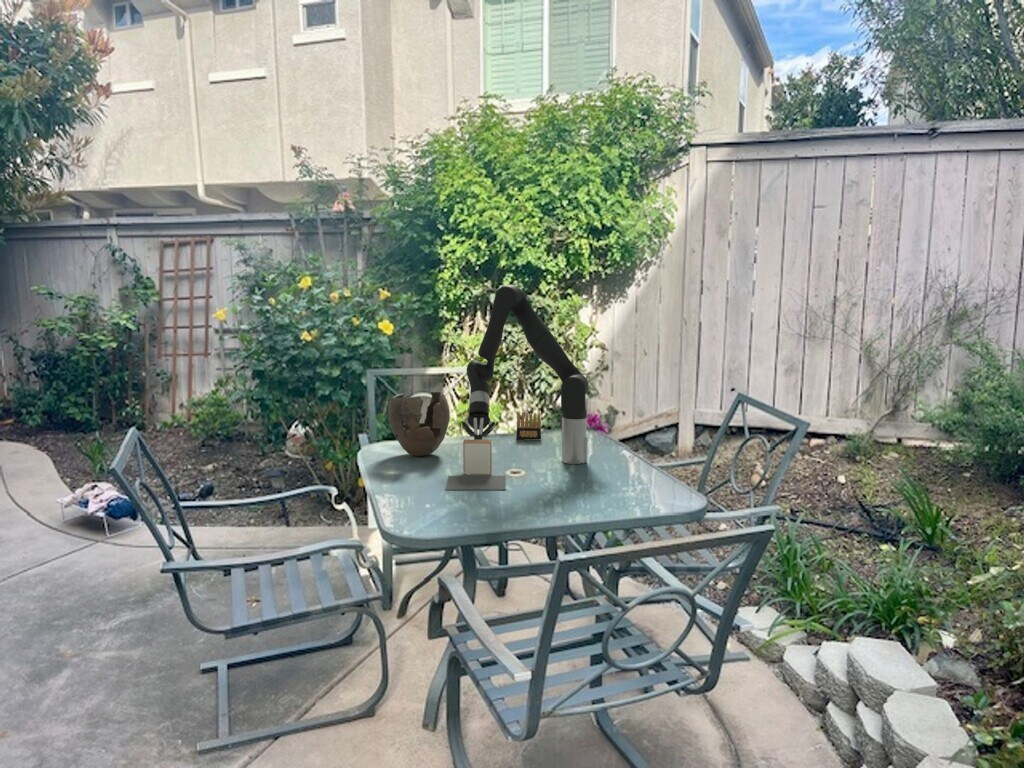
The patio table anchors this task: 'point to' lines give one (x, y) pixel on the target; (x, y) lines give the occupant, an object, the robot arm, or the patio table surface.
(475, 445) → the peach block
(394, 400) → the clay pot
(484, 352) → the robot arm
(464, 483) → the charcoal mat
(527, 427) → the ammunition clip
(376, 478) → the patio table surface
